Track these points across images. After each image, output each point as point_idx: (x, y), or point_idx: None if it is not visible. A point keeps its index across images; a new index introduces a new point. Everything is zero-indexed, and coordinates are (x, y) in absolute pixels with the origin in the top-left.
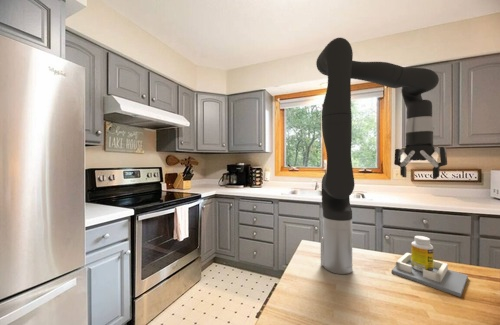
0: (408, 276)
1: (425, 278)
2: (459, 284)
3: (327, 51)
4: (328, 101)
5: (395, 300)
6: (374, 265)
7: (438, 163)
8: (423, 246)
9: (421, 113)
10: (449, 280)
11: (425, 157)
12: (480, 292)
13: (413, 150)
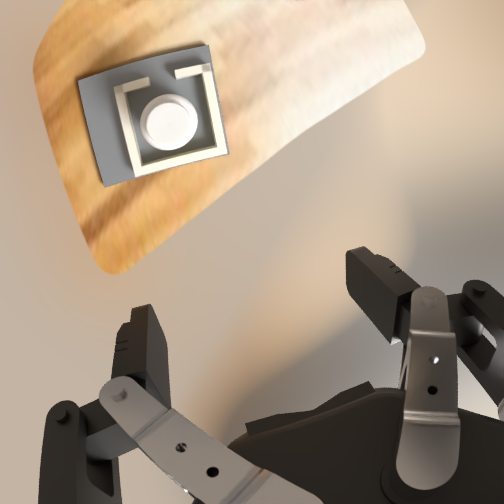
0: (170, 53)
1: (142, 76)
2: (93, 120)
3: None
4: None
5: None
6: (254, 48)
7: (107, 424)
8: (154, 101)
9: None
10: (110, 118)
11: (221, 452)
12: (69, 141)
13: (432, 496)
